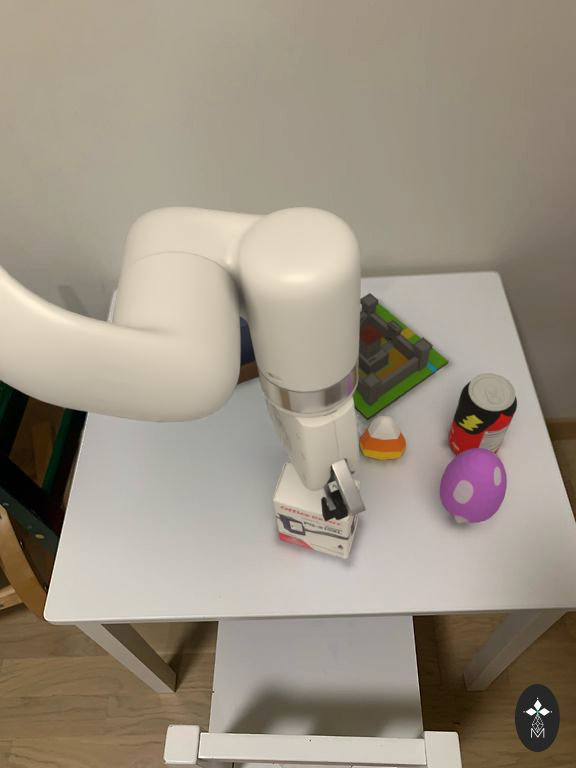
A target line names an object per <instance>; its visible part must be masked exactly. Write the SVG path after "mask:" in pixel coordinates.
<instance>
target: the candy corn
mask: <svg viewBox="0 0 576 768" xmlns="http://www.w3.org/2000/svg"><path fill="white" fill-rule="evenodd" d="M359 449H360V450H361V453H362V454H363V455H364V457H368V458H371V459H375V460H379V461H385V460H386V461H387V460H394V459H396V460H397V459H400V458H401V457H402V456H403V454H404V452H405V451H406V449H407V441H406V437H405V436H404V434H403V433H402V430H401V428H400V426H399V424H398V422H397V420H396V419H395V418H394V417H393V416H390V415H386V414H384V415H377V417H375V418H373V420H372V421H371V422H370V424H369V425H368V426H367V428H366V430H365V431H364V433H363V434H362V435H361V438H360V440H359Z"/></svg>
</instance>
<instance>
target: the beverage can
mask: <svg viewBox="0 0 576 768" xmlns="http://www.w3.org/2000/svg"><path fill="white" fill-rule="evenodd" d="M517 399H518V398H517V396H516V389H515V387H514V385H513V384H512V383H511V381H510V380H508V378H506V377H504V376H503V375H500V374H497V373H493V372H486V373H480V374H478V375H476V376H474V377H473V378H472V379H471V380H470V381H469V382H468V383H467V384H465V385H464V387H463V388H462V389H461V392H460V395H459V399H458V402H457V406H456V409H455V412H454V415H453V419H452V422H451V426H450V429H449V432H448V442H449V446H450V448H451V449H452V450H453V452H454V454H456V456H457V455H459V454H460V453H462V452H464V451H466V450H468V449H473V448H484V449H487V450H490V451H492V452H493V453H494V454H496V455H497V453H498V451H499V449H500V447H501V445H502V443H503V440H504V438H505V436H506V433H507V432H508V429H509V427H510V425H511V423H512V421H513V418H514V416H515V414H516V412H517V408H518V400H517Z"/></svg>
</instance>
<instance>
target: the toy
mask: <svg viewBox="0 0 576 768" xmlns="http://www.w3.org/2000/svg"><path fill="white" fill-rule="evenodd" d="M507 478H508V477H507V472H506V469H505V466H504V463H503V462H502V460H501V459H500V457H498V456H497V453H496V454H494V453H493V452H492V451H490V450H487V449H484V448H473V449H468V450H466V451H464V452H462V453H460V454H459V455H457V454H456V456H455V457H454V458H453V459H452V460H450V462H449V464H447V466H446V467H445V469H444V471H443V474H442V475H441V478H440V482H439V488H438V493H439V499H440V503H441V504H442V506H443V507H444V509H445V511H447V513H448V514H450V516H452V517H453V518H454V521H455V523H458V524H462V523H469V524H477V523H482V522H486V521H488V520H490V519H491V518H492V517H493V516H494V515H495V514H497V512H498V511H499V509H500V508H501V506H502V503H503V502H504V500H505V496H506V492H507V488H508V487H507V486H508V479H507Z"/></svg>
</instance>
